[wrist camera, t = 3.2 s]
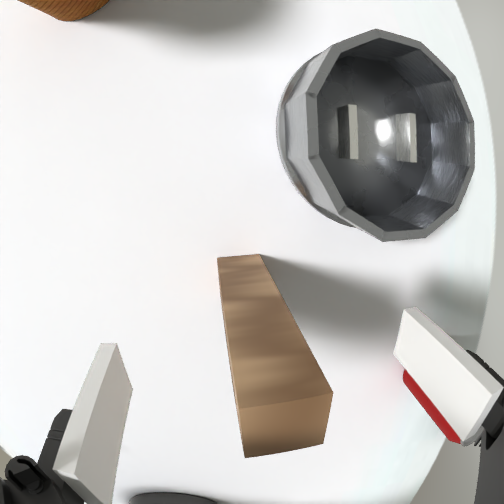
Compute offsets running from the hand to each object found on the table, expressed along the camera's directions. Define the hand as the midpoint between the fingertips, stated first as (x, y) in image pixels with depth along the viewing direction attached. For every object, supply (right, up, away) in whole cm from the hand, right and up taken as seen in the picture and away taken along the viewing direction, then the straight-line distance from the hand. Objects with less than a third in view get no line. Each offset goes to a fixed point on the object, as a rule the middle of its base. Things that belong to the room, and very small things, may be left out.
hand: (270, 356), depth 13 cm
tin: (+8, +13, +8) cm, 17 cm away
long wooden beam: (-2, +3, +10) cm, 10 cm away
